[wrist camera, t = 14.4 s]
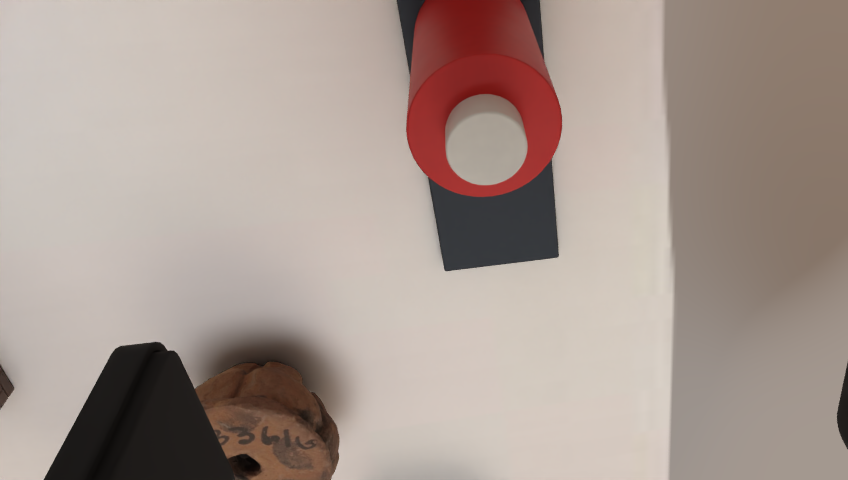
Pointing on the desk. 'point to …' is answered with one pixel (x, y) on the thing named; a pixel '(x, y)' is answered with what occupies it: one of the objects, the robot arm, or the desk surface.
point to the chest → (4, 388)
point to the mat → (492, 198)
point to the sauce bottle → (480, 97)
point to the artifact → (270, 423)
